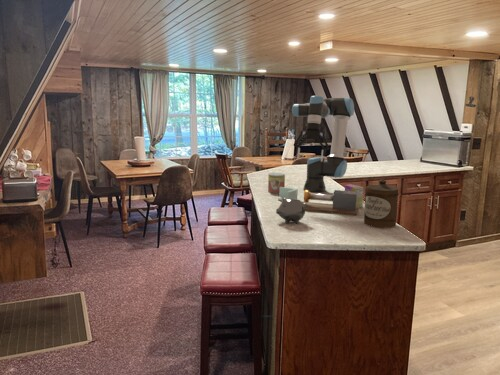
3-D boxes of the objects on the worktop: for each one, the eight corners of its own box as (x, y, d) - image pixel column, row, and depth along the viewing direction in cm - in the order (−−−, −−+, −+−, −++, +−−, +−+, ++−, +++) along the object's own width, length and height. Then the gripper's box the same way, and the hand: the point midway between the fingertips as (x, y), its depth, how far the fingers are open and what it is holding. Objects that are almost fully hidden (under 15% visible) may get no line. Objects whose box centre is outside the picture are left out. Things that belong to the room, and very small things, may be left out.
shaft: (305, 200, 222) (306, 188, 221) (343, 203, 216) (343, 191, 214) (303, 203, 215) (304, 191, 214) (342, 206, 209) (343, 193, 208)
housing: (333, 205, 218) (334, 190, 217) (355, 207, 215) (357, 191, 213) (332, 209, 210) (333, 192, 209) (355, 210, 207) (356, 194, 205)
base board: (294, 203, 229) (294, 201, 228) (357, 208, 218) (358, 206, 218) (289, 209, 214) (289, 207, 213) (356, 215, 203) (357, 212, 203)
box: (343, 204, 230) (344, 184, 227) (351, 203, 232) (353, 184, 229) (354, 208, 220) (355, 187, 218) (362, 207, 222) (364, 187, 220)
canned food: (266, 192, 260) (266, 175, 258) (269, 189, 271) (270, 172, 269) (283, 193, 258) (283, 175, 255) (285, 190, 268) (286, 173, 266)
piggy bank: (276, 218, 195) (277, 196, 193) (306, 219, 193) (307, 197, 191) (275, 224, 184) (275, 201, 182) (306, 226, 182) (307, 202, 180)
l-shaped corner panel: (279, 198, 245) (280, 186, 243) (297, 200, 239) (297, 188, 237) (270, 201, 235) (271, 189, 233) (288, 204, 229) (289, 192, 227)
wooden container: (357, 223, 188) (360, 179, 184) (372, 218, 198) (376, 176, 194) (386, 230, 177) (390, 183, 173) (401, 224, 188) (405, 179, 184)
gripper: (291, 120, 221) (287, 157, 222) (335, 123, 215) (331, 161, 215) (293, 123, 228) (289, 158, 229) (336, 126, 222) (332, 162, 222)
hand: (309, 160), depth 222 cm, fingers open, 13 cm apart
